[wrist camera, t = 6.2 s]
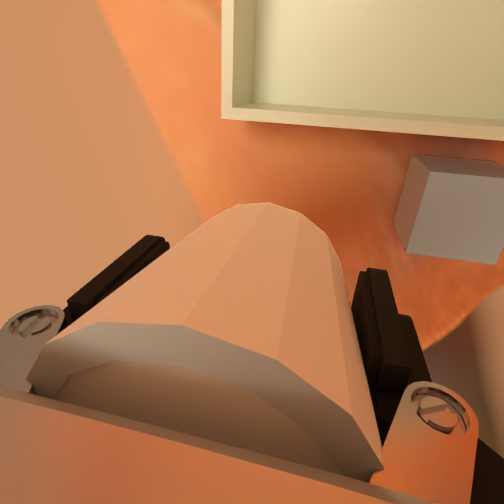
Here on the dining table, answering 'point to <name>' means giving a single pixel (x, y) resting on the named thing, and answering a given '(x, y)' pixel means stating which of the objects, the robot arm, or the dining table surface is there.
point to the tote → (366, 65)
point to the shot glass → (230, 345)
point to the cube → (452, 209)
